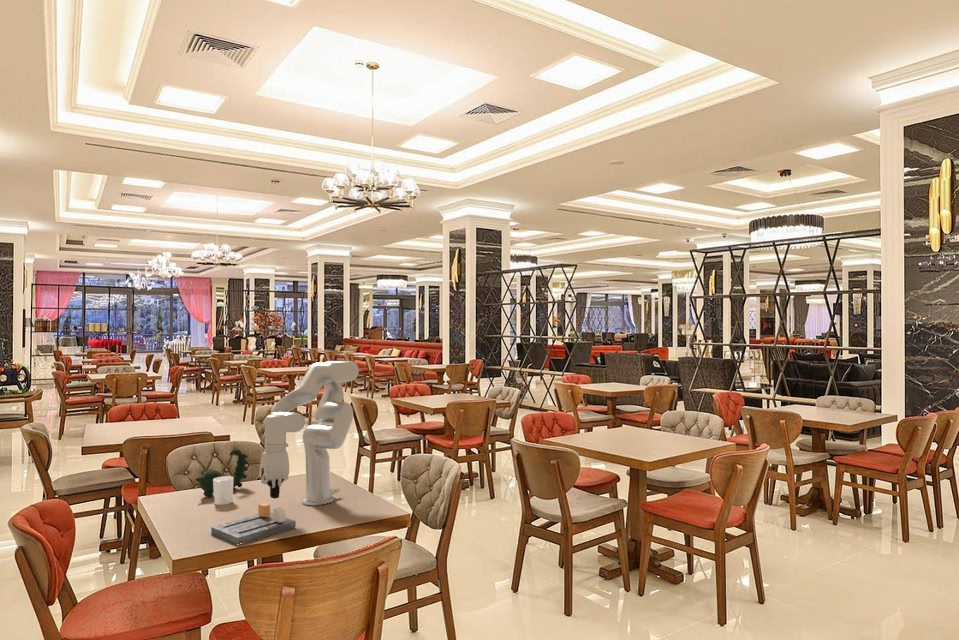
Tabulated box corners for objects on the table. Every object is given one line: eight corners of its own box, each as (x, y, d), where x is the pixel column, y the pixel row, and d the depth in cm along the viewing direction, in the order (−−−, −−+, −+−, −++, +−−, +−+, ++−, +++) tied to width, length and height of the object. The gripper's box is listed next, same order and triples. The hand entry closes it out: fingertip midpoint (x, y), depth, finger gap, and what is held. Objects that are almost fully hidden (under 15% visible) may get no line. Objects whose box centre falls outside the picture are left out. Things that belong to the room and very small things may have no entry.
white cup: (237, 500, 259) (237, 476, 259) (227, 505, 251) (227, 481, 251) (219, 499, 260) (219, 476, 260) (209, 505, 252) (209, 480, 252)
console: (268, 518, 234) (268, 511, 234) (295, 528, 222) (295, 520, 222) (211, 534, 217) (211, 526, 217) (237, 545, 205) (237, 537, 205)
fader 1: (264, 516, 230) (264, 502, 230) (270, 518, 228) (270, 504, 228) (258, 518, 228) (258, 504, 228) (264, 520, 226) (264, 506, 226)
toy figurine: (236, 489, 283) (187, 498, 261) (238, 447, 284) (190, 452, 263) (250, 491, 278) (201, 501, 257) (253, 449, 280) (204, 454, 258)
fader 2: (279, 521, 224) (279, 507, 224) (285, 523, 221) (285, 509, 221) (273, 523, 222) (273, 509, 222) (279, 525, 219) (279, 511, 219)
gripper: (287, 444, 240) (286, 492, 239) (251, 449, 228) (250, 500, 228) (298, 446, 235) (297, 495, 234) (262, 451, 224) (261, 503, 223)
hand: (274, 497), depth 231 cm, fingers closed
